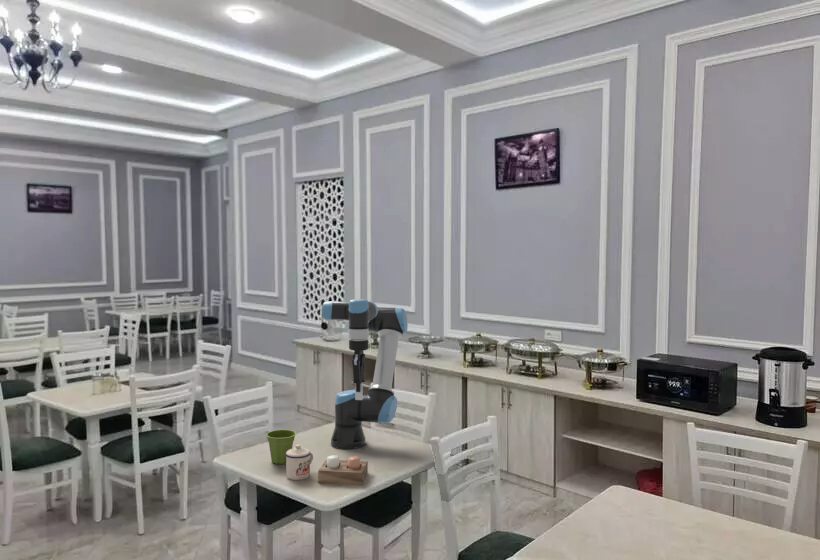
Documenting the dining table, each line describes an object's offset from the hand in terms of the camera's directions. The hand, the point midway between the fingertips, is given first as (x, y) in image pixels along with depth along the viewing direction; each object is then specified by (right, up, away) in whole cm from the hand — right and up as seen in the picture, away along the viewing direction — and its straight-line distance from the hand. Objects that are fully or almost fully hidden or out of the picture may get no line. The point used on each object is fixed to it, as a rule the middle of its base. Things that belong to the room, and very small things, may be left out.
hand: (358, 399), depth 223 cm
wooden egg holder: (-5, -27, -10) cm, 29 cm away
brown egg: (-1, -26, -11) cm, 28 cm away
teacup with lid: (-21, -27, -8) cm, 35 cm away
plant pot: (-32, -26, +7) cm, 42 cm away
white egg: (-9, -25, -10) cm, 29 cm away
